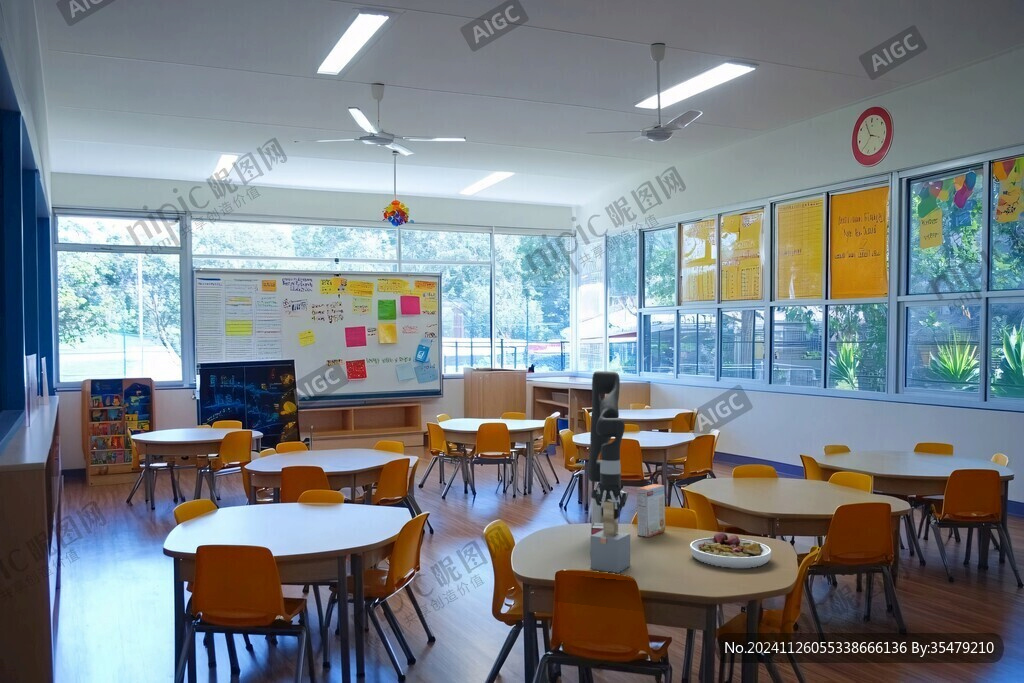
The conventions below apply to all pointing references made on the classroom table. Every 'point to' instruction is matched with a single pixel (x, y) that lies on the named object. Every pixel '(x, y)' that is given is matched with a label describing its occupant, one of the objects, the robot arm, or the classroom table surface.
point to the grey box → (610, 552)
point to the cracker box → (650, 510)
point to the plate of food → (730, 551)
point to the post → (609, 519)
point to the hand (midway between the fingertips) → (610, 517)
